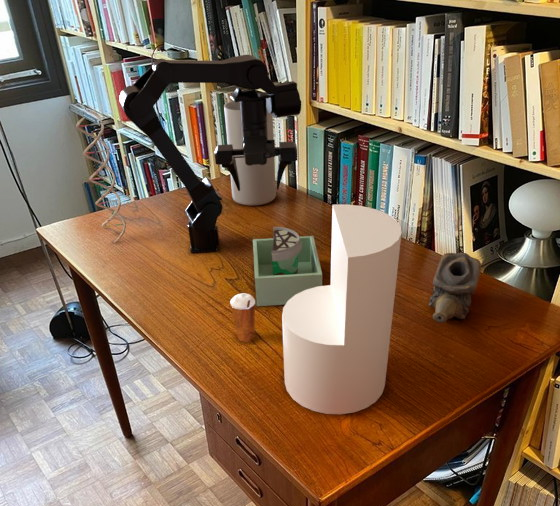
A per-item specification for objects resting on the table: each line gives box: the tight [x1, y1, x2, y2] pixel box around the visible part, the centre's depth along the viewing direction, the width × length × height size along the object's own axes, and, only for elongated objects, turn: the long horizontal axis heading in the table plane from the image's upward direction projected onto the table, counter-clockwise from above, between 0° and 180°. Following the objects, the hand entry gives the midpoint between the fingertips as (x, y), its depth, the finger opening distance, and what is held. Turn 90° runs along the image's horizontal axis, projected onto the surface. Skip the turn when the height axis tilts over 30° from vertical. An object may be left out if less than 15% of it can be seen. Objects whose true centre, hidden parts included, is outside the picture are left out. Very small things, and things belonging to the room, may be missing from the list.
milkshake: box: [229, 292, 256, 343], centre depth 104 cm, size 4×5×10 cm
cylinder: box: [281, 203, 403, 415], centre depth 88 cm, size 17×17×28 cm
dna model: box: [74, 109, 127, 244], centre depth 135 cm, size 7×6×30 cm
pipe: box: [428, 252, 482, 324], centre depth 107 cm, size 9×22×10 cm, turn 166°
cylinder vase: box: [223, 100, 277, 207], centre depth 153 cm, size 12×12×25 cm
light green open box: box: [252, 235, 323, 307], centre depth 121 cm, size 14×18×7 cm
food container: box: [272, 226, 302, 276], centre depth 120 cm, size 12×6×10 cm, turn 179°
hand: (258, 189), depth 134 cm, fingers open, 9 cm apart
